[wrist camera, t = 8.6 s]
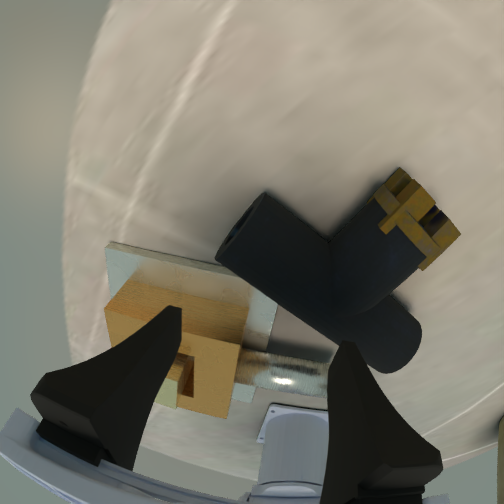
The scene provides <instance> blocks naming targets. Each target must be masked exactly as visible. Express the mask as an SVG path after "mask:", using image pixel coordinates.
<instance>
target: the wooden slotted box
mask: <svg viewBox="0 0 504 504" xmlns="http://www.w3.org/2000/svg"><path fill="white" fill-rule="evenodd" d="M105 254H106V264H107V273H108V281H109V288H110V295H111V301H110V302H109V303H108V304H107V306H106V307H105V308H104V312H105V317H106V322H107V327H108V332H109V337H110V341H111V346H112V347H114V346H116V345H117V344H119V343H121V342H122V341H124V340H125V339H126V338H128V337H129V336H131V335H132V334H134V333H135V332H136V331H138V330H139V329H140V328H141V327H143V326H144V325H145V324H147V323H148V322H149V321H150V320H151V319H153V318H154V317H155V316H156V315H157V314H159V313H160V312H161V311H162V310H163V309H164V308H165V307H167V306H168V305H172V306H176V307H180V308H182V341H181V344H180V347H179V350H178V353H182V354H186V355H190V356H194V357H195V359H194V364H193V366H192V369H191V371H190V374H189V377H188V379H187V382H186V384H185V387H184V390H183V392H182V395H181V397H180V400H179V403H178V405H177V407H180V408H184V409H188V410H191V411H195V412H199V413H203V414H207V415H211V416H215V417H220V418H224V419H227V415H228V411H229V407H230V403H231V399H233V400H238V401H243V402H248V403H252V399H253V395H254V392H255V388H256V387H259V388H264V389H270V390H275V391H281V392H287V393H294V394H300V395H307V396H315V397H322V398H327V379H328V369H329V367H330V365H331V363H325V362H318V361H312V360H305V359H299V358H293V357H288V356H282V355H277V354H271V353H266V348H267V344H268V340H269V337H270V333H271V329H272V325H273V321H274V317H275V313H276V309H277V306H278V304H277V303H276V302H274V301H273V300H272V299H270V298H269V297H267V296H266V295H264V294H263V293H261V292H260V291H259V290H257V289H256V288H254V287H253V286H252V285H250V284H249V283H247V282H246V281H244V280H243V279H242V278H240V277H239V276H237V275H236V274H235V273H233V272H232V271H230V270H229V269H228V268H226V267H224V266H219V265H214V264H209V263H205V262H200V261H195V260H191V259H186V258H181V257H177V256H172V255H168V254H163V253H158V252H154V251H149V250H145V249H140V248H136V247H132V246H127V245H123V244H118V243H114V242H110V243H109V244H108V245H107V246H106V247H105Z"/></svg>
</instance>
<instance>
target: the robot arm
mask: <svg viewBox="0 0 504 504" xmlns="http://www.w3.org/2000/svg"><path fill="white" fill-rule="evenodd" d="M181 341H182V308H180V307H176V306H172V305H168V306H167V307H165V308H164V309H163V310H162V311H161V312H160V313H159V314H157V315H156V316H155V317H154V318H153V319H151V320H150V321H149V322H148V323H147V324H145V325H144V326H143V327H141V328H140V329H139V330H138V331H136V332H135V333H134V334H132V335H131V336H129V337H128V338H126V339H125V340H124V341H122V342H121V343H119V344H117V345H116V346H114V347H112V348H111V349H109V350H107V351H105V352H103V353H101V354H99V355H97V356H95V357H93V358H91V359H89V360H87V361H84V362H82V363H79V364H76V365H73V366H71V367H68V368H64V369H60V370H56V371H52V372H49V373H46V374H45V375H44V376H43V377H42V378H41V380H40V381H39V383H38V384H37V385H36V387H35V388H34V390H33V391H32V393H31V394H30V396H31V400H32V402H33V404H34V405H35V407H36V408H37V410H38V411H39V413H40V414H41V416H42V417H43V419H42V421H41V423H39V422H38V421H37V420H36V419H35V418H33V417H32V416H30V415H28V414H27V413H25V412H24V411H22V410H21V409H19V408H16V409H15V410H14V412H13V413H12V415H11V416H10V418H9V419H8V421H7V422H6V424H5V425H4V427H3V428H2V430H1V432H0V455H1V456H2V457H3V458H5V459H6V460H7V461H8V462H9V463H10V464H11V465H13V466H14V467H15V468H16V469H17V470H19V471H20V472H22V473H23V474H24V475H26V476H27V477H29V478H31V479H32V480H33V481H35V482H37V483H38V484H39V485H41V486H43V487H44V488H46V489H47V490H49V491H51V492H52V493H54V494H56V495H57V496H59V497H61V498H63V499H64V500H66V501H68V502H70V503H71V504H450V502H449V495H448V494H442V495H437V496H431V497H427V498H424V499H422V494H423V493H424V492H425V487H424V485H425V484H427V483H428V482H430V481H431V480H433V479H434V478H436V477H437V476H438V475H439V474H440V473H441V472H442V470H443V464H442V459H441V454H440V451H439V450H438V449H437V448H435V447H434V446H433V445H431V444H430V443H429V442H427V441H426V440H425V439H424V438H423V437H421V436H420V435H419V434H418V433H417V432H416V431H415V430H414V429H413V428H412V427H411V426H410V425H409V424H408V423H407V422H406V421H405V420H404V419H403V418H402V417H401V415H400V414H399V413H398V412H397V411H396V409H395V408H394V407H393V406H392V404H391V403H390V402H389V400H388V399H387V397H386V396H385V395H384V393H383V391H382V390H381V388H380V387H379V385H378V384H377V382H376V380H375V378H374V377H373V375H372V373H371V371H370V370H369V368H368V366H367V364H366V362H365V360H364V358H363V357H362V355H361V353H360V351H359V349H358V347H357V345H356V343H355V342H350V341H344V340H342V342H341V344H340V346H339V348H338V350H337V352H336V355H335V357H334V359H333V361H332V363H331V365H330V367H329V369H328V379H327V402H328V411H319V410H311V409H304V408H296V407H290V406H283V405H277V404H271V405H270V406H269V409H268V411H267V414H266V417H265V419H264V422H263V424H262V427H261V429H260V432H259V435H258V437H257V442H258V443H262V444H264V445H263V451H262V458H261V464H260V470H259V476H258V482H257V485H253V487H252V492H246V493H245V494H244V495H243V496H241V497H240V498H239V500H233V499H228V498H223V497H217V496H213V495H209V494H205V493H201V492H196V491H192V490H189V489H185V488H181V487H178V486H174V485H171V484H168V483H164V482H161V481H158V480H155V479H152V478H149V477H146V476H143V475H141V474H138V473H135V472H132V470H133V466H134V462H135V459H136V455H137V451H138V448H139V444H140V441H141V438H142V434H143V431H144V428H145V425H146V422H147V419H148V416H149V414H150V411H151V408H152V405H153V403H154V400H155V398H156V396H157V394H158V392H159V390H160V388H161V386H162V384H163V382H164V380H165V378H166V376H167V374H168V372H169V370H170V368H171V366H172V364H173V362H174V360H175V358H176V355H177V352H178V350H179V347H180V344H181ZM155 498H158V499H160V500H157V499H155ZM161 500H164V501H161ZM165 501H167V502H165ZM169 502H170V503H169Z"/></svg>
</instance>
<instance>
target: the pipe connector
mask: <svg viewBox="0 0 504 504" xmlns="http://www.w3.org/2000/svg"><path fill="white" fill-rule="evenodd" d="M435 204H436V202H435V201H434V200H433V199H432V197H431V196H430V195H429V194H428V193H427V192H426V191H425V189H424V188H423V187H422V186H421V185H420V184H419V183H418V182H416V181H415V180H414V179H412V178H411V177H410V176H409V175H408V174H407V173H406V172H405V171H404V170H403V169H401V168H399V169H398V170H397V171H396V172H395V173H394V174H393V175H392V176H391V177H390V178H389V179H388V181H387V182H386V183H385V184H383V185H382V186H381V187H380V188H379V189H378V190H377V191H376V192H375V193H374V194H373V196H372V197H371V198H370V199H369V200H368V202H367V205H366V206H365V207H364V208H363V209H362V210H361V211H360V212H359V213H358V214H357V215H356V216H355V217H354V218H353V219H352V220H351V221H350V222H349V223H348V224H347V225H346V226H345V227H344V228H343V229H342V230H341V231H340V232H339V233H338V234H337V235H336V236H335V237H334V238H333V239H332V240H331V241H330V242H329V243H327V242H326V241H325V240H324V239H323V238H321V237H320V236H319V235H318V234H316V233H315V232H314V231H313V230H311V229H310V228H309V227H308V226H307V225H305V224H304V223H303V222H302V221H300V220H299V219H298V218H296V217H295V216H294V215H293V214H291V213H290V212H289V211H288V210H286V209H285V208H284V207H283V206H281V205H280V204H279V203H277V202H276V201H275V200H274V199H272V198H271V197H270V196H268V195H267V194H266V193H262V194H261V195H260V196H259V197H258V198H257V199H256V200H255V201H254V202H253V204H252V205H251V206H250V207H249V208H248V210H247V211H246V212H245V213H244V215H243V216H242V217H241V218H240V220H239V221H238V222H237V223H236V225H235V226H234V227H233V229H232V230H231V231H230V233H229V234H228V236H227V237H226V239H225V240H224V242H223V243H222V245H221V247H220V248H219V250H218V252H217V254H216V256H215V260H216V261H218V262H219V263H221V264H222V265H223V266H225V267H226V268H228V269H229V270H230V271H232V272H233V273H235V274H236V275H237V276H239V277H240V278H242V279H243V280H244V281H246V282H247V283H249V284H250V285H252V286H253V287H254V288H256V289H257V290H259V291H260V292H261V293H263V294H264V295H266V296H267V297H269V298H270V299H272V300H273V301H274V302H276V303H277V304H279V305H280V306H282V307H283V308H285V309H286V310H287V311H289V312H290V313H292V314H293V315H295V316H296V317H298V318H299V319H301V320H302V321H303V322H305V323H306V324H308V325H309V326H311V327H312V328H314V329H315V330H317V331H318V332H320V333H321V334H323V335H324V336H326V337H327V338H328V339H330V340H331V341H333V342H334V343H336V344H337V345H339V346H340V344H341V342H342V340H344V341H350V342H355V343H356V345H357V347H358V349H359V351H360V353H361V355H362V357H363V358H364V360H365V362H366V364H368V365H369V366H371V367H372V368H374V369H375V370H377V371H378V372H381V373H385V374H387V373H393V372H395V371H398V370H399V369H401V368H403V367H404V366H405V365H406V364H407V363H408V362H409V361H410V360H411V359H412V358H413V356H414V355H415V354H416V352H417V350H418V348H419V345H420V342H421V338H422V329H421V325H420V323H419V322H418V321H417V320H416V319H415V318H414V317H413V316H412V315H411V314H410V313H409V312H408V311H407V310H405V309H404V308H403V307H402V306H401V305H400V304H399V303H398V302H396V301H395V300H394V299H393V298H392V297H391V296H390V295H389V294H390V293H391V292H392V291H393V290H394V289H395V288H397V287H398V286H399V285H400V284H401V283H402V282H403V281H405V280H406V279H407V278H408V277H409V276H410V275H411V274H412V273H414V272H415V271H416V270H417V269H418V268H420V269H421V270H422V271H423V270H425V269H426V268H427V267H428V266H429V265H430V264H431V263H432V262H433V261H434V260H435V259H436V258H437V257H439V256H440V255H441V254H442V253H443V252H444V251H445V250H446V249H447V248H448V247H449V246H450V245H451V244H452V243H453V242H454V241H455V240H456V239H457V238H458V237H459V236H460V235H461V233H460V232H459V231H458V229H457V228H456V227H455V225H454V224H453V223H452V222H451V220H450V219H449V218H448V217H447V216H446V215H445V214H444V213H443V212H442V211H441V210H439V209H438V208H437V206H436V205H435Z"/></svg>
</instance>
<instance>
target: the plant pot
mask: <svg viewBox="0 0 504 504" xmlns="http://www.w3.org/2000/svg"><path fill="white" fill-rule="evenodd" d="M497 465H498V466H497V504H504V416H503V418H502V419H501V421H500V423H499V437H498V464H497Z"/></svg>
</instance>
